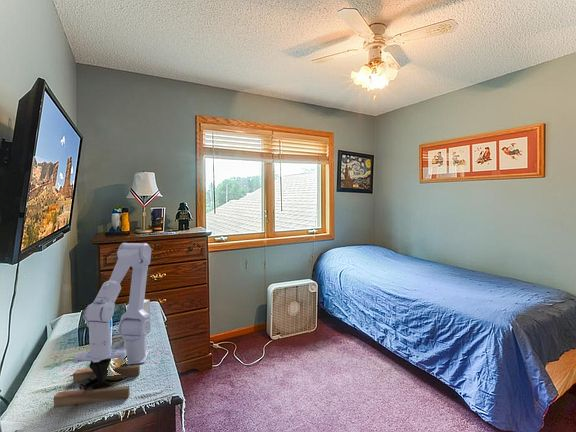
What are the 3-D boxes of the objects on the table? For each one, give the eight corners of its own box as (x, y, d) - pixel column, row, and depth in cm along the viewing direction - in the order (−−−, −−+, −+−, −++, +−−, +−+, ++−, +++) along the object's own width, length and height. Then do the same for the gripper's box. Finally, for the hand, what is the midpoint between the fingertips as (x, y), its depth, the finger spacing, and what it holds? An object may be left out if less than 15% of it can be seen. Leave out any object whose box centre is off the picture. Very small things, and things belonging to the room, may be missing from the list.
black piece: (74, 409, 90) (73, 394, 90) (60, 401, 93) (59, 386, 93) (115, 385, 101) (114, 372, 101) (101, 379, 104) (101, 366, 104)
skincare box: (140, 329, 142) (139, 298, 141) (151, 331, 140) (150, 299, 139) (126, 337, 134) (125, 304, 133) (138, 339, 132) (137, 305, 131)
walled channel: (75, 379, 103) (75, 370, 103) (139, 372, 107) (139, 363, 107) (53, 407, 90) (53, 396, 90) (128, 398, 94) (127, 387, 94)
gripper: (68, 348, 92) (70, 392, 93) (121, 343, 95) (122, 385, 96) (78, 338, 99) (80, 378, 100) (127, 333, 102) (129, 373, 103)
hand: (101, 381), depth 99 cm, fingers closed
